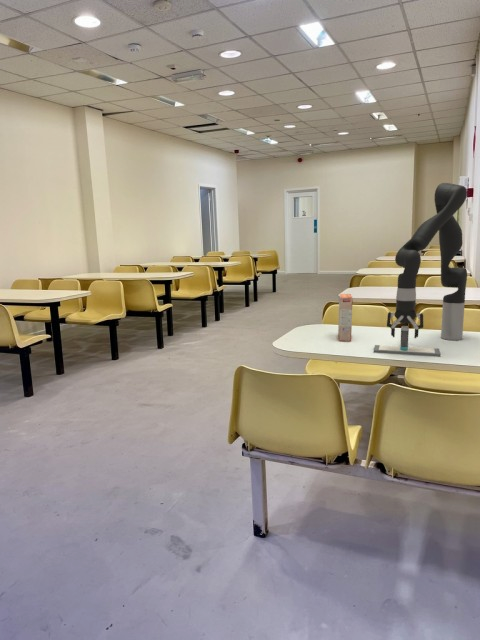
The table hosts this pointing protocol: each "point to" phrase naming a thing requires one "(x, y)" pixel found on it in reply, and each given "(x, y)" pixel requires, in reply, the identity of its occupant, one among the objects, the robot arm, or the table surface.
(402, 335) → the marker
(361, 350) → the table surface
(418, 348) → the drawing board
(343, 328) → the cracker box
